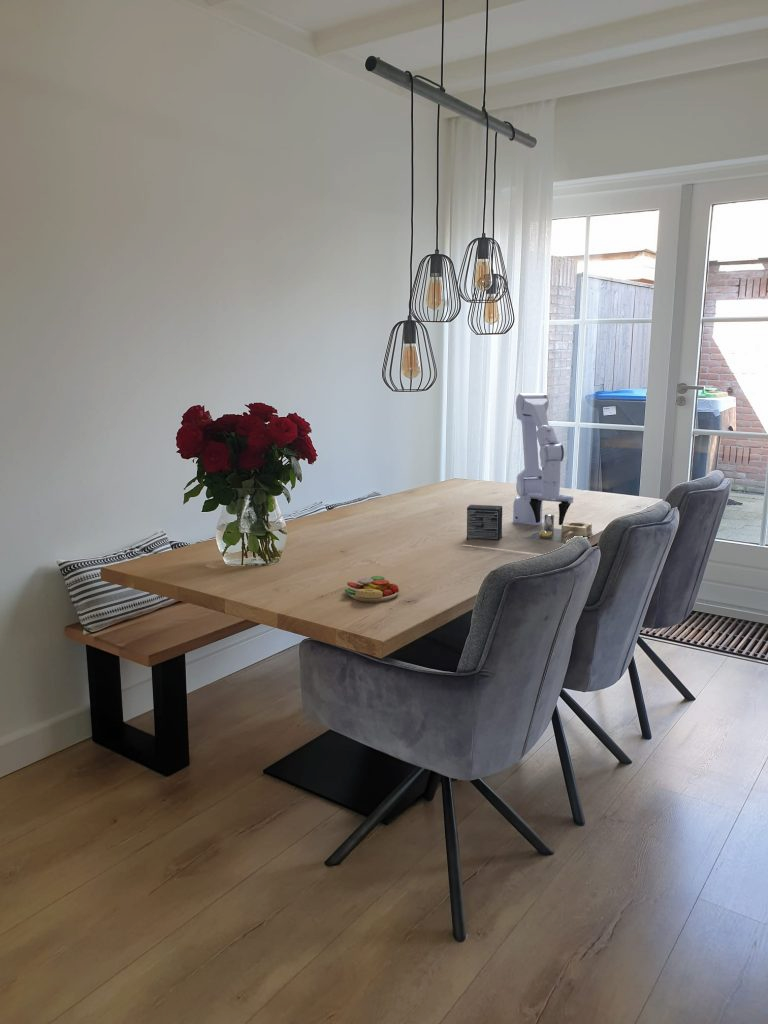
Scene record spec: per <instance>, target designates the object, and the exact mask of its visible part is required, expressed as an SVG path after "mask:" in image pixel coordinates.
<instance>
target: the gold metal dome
mask: <svg viewBox="0 0 768 1024" xmlns="http://www.w3.org/2000/svg"><path fill="white" fill-rule="evenodd" d="M538 531H539V530H538ZM539 537H540V538H543V539H550V538H552V531H548V530H542V531H539Z"/></svg>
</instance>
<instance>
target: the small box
mask: <svg viewBox="0 0 768 1024" xmlns="http://www.w3.org/2000/svg"><path fill="white" fill-rule="evenodd" d="M466 513H467V514H466V540H467V541H469V540H470V539H471V540H484V541H485V540H486V541H501V539H502V538H503V536H502V535H503V505H491V504H489V505H487V504H469V505H468V506H467V507H466Z"/></svg>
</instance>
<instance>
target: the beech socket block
mask: <svg viewBox="0 0 768 1024" xmlns="http://www.w3.org/2000/svg"><path fill="white" fill-rule="evenodd" d="M560 529H561V535H565V534H566V533H568V532H569V531H571V532H573V536H586V537H587V536H589V535H590V534H592V529H593V524H592V523H590V522H579V521H570V520H568V521H566V522H565V523H563V524H562V525H561V528H560Z"/></svg>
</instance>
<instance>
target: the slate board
mask: <svg viewBox="0 0 768 1024" xmlns="http://www.w3.org/2000/svg"><path fill="white" fill-rule="evenodd" d="M542 530H544V527H543V528H541V529H539V530H538V531H535V532H534V533H532V534H531V535H529V536H527V537H526V538H527V539H534V540H540V541H541V540H542V541H549V542H550V541H551V542H558V543H559V542H560V543H564V542H563V535H561V528H555V527H554V534H552V538H550V539H543V538H540V537H539V531H542ZM573 537H574V536H573Z"/></svg>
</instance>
